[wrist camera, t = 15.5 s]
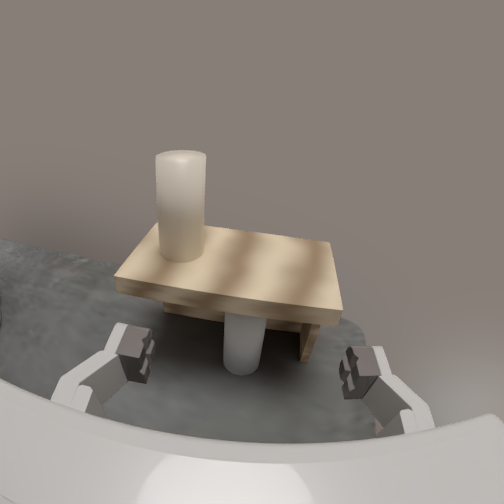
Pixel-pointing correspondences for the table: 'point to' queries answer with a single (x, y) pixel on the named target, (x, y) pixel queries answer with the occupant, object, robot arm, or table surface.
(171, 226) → the white rounded cylinder
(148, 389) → the table surface
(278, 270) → the counter
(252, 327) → the white cylinder pillar
